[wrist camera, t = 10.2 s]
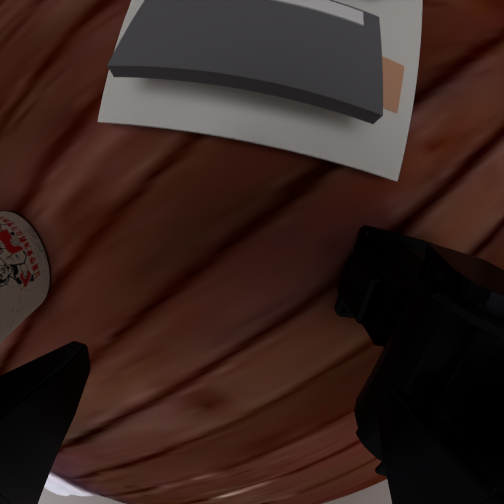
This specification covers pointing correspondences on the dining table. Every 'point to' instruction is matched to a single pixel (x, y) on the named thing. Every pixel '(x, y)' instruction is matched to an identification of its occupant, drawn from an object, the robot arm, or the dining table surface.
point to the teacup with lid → (20, 272)
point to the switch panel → (287, 103)
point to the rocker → (261, 50)
